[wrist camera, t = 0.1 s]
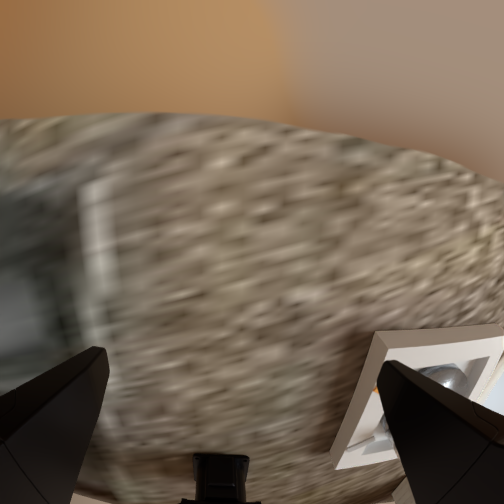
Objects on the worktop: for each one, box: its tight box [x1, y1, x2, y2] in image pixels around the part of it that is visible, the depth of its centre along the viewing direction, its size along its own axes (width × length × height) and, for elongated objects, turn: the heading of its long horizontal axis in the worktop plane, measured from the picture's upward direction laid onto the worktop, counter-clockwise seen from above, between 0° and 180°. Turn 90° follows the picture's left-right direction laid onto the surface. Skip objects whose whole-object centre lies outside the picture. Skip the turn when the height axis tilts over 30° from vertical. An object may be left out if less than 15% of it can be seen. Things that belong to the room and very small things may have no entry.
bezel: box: [329, 323, 504, 470], centre depth 28 cm, size 18×18×3 cm
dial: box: [380, 363, 468, 461], centre depth 26 cm, size 11×11×6 cm
